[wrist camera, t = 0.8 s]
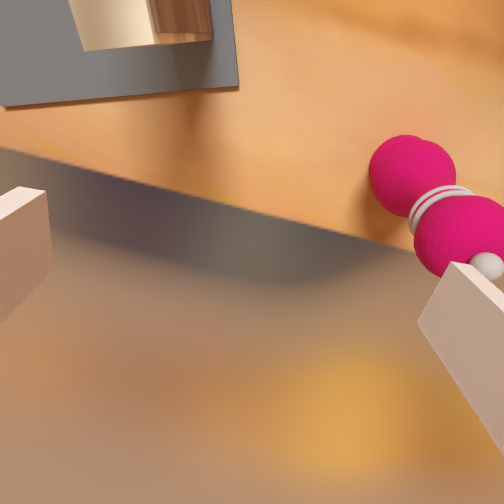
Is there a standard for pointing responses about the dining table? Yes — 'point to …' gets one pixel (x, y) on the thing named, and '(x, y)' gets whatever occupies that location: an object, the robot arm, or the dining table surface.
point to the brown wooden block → (141, 22)
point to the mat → (102, 58)
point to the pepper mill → (438, 207)
